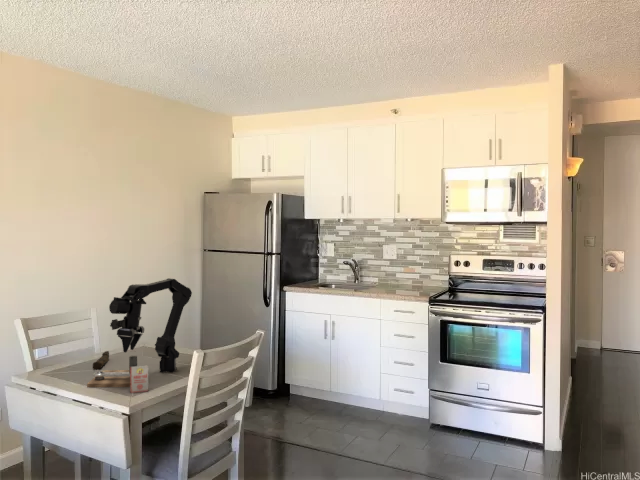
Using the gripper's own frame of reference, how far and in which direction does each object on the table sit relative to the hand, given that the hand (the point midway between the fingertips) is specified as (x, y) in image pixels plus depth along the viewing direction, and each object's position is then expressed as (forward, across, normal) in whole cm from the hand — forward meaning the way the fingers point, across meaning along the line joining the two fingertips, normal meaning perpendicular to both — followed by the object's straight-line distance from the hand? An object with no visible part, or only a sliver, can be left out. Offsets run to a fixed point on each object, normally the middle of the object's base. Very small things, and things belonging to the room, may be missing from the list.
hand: (128, 351), depth 228 cm
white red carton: (+14, +10, +9) cm, 19 cm away
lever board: (+13, -4, -4) cm, 14 cm away
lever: (+11, -1, -4) cm, 12 cm away
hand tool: (+12, -29, -20) cm, 38 cm away
